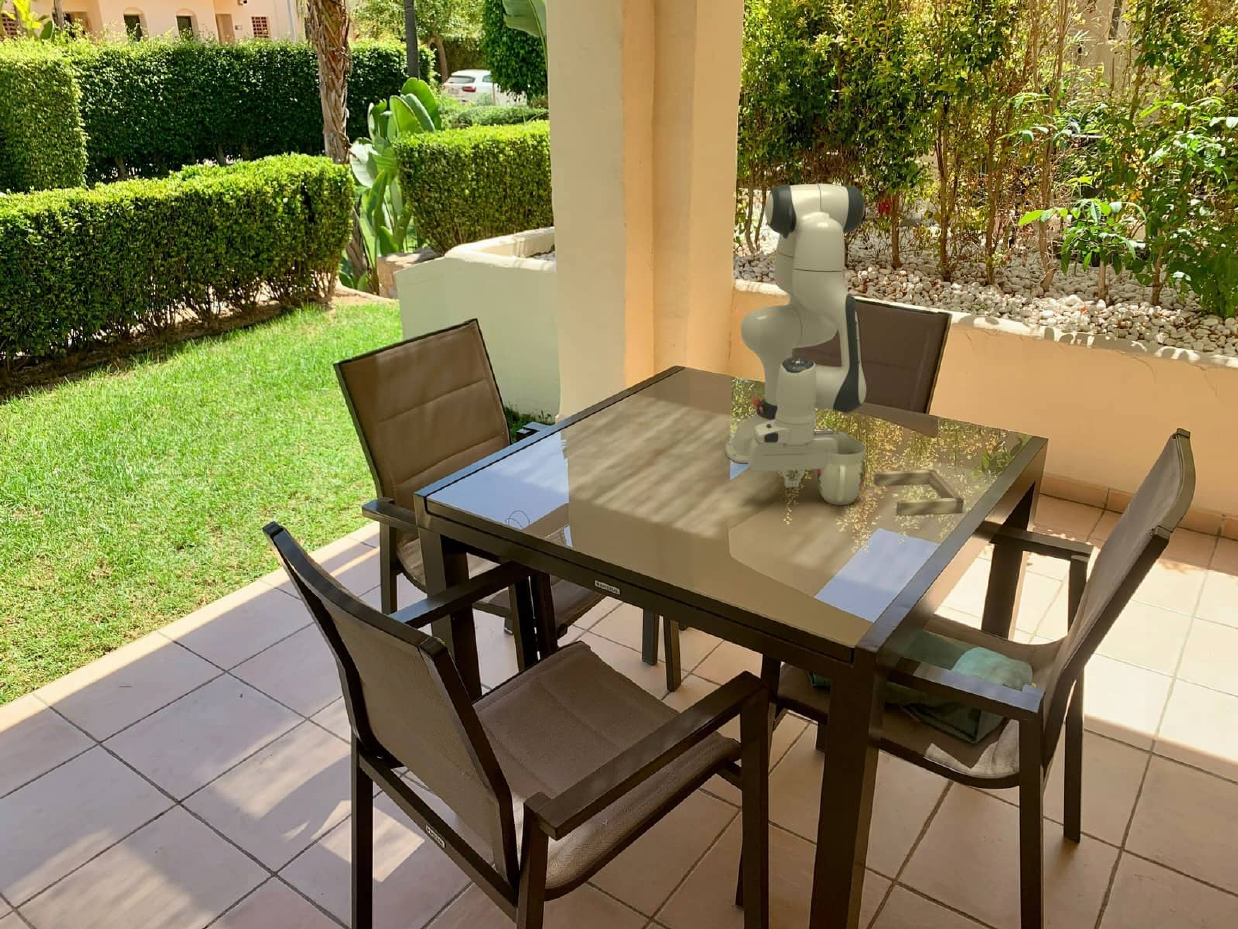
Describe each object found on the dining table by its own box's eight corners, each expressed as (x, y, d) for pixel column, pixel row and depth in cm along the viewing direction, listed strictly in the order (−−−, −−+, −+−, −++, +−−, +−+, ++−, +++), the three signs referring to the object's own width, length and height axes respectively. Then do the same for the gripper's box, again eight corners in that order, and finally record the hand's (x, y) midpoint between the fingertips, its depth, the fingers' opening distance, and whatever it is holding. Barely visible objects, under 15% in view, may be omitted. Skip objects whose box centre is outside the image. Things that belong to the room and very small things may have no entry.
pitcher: (814, 515, 208) (818, 459, 203) (814, 484, 224) (818, 430, 219) (864, 518, 206) (869, 461, 201) (861, 486, 222) (865, 432, 217)
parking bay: (898, 515, 207) (899, 503, 206) (873, 483, 224) (874, 472, 223) (962, 512, 208) (963, 500, 206) (933, 481, 224) (934, 469, 223)
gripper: (836, 423, 211) (833, 479, 216) (747, 426, 210) (745, 482, 216) (844, 433, 205) (840, 490, 210) (752, 436, 205) (750, 493, 210)
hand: (791, 486), depth 213 cm, fingers closed
